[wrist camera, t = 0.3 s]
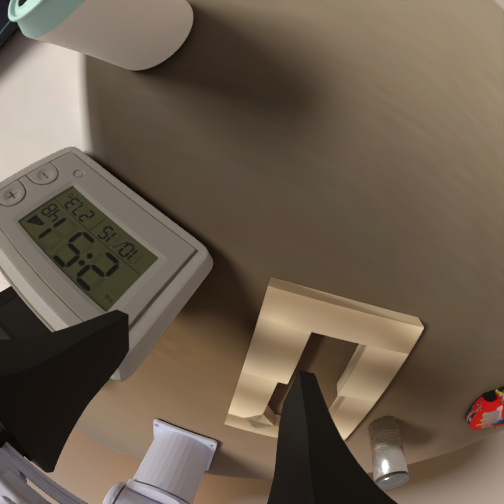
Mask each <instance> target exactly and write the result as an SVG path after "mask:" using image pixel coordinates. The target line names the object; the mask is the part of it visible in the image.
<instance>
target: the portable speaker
mask: <svg viewBox="0 0 504 504" xmlns="http://www.w3.org/2000/svg"><path fill="white" fill-rule="evenodd" d="M10 1H11V0H0V46H1V45H2V44H3V43H4V42H5V41H6V40H7V39H8V38H9V37H10V35H11V34H12V33H13V32H14V31H15V30H16V29H17V28H18V27H19V25H18V23H17V22H13V21H10V20H9V17H8V8H9V4H10Z"/></svg>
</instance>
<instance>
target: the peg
mask: <svg viewBox="0 0 504 504" xmlns="http://www.w3.org/2000/svg"><path fill="white" fill-rule="evenodd" d="M368 430H369V438H370V446H371V455H372V464H373V474H374V483H375V484H376V485H377V486H378V487H379V488H380V489H381V490H382V491H383V490H390V489H393V488H396V487H399V486H401V485H403V484H404V483H406V482H407V481H408V480H409V476H408V470H407V465H406V459H405V454H404V449H403V444H402V440H401V435H400V430H399V426H398V422H397V419H396V418H395V417H392V416H385V417H381V418H378V419H376V420H375V421H373V422H372V423H371V424H370V425H369V427H368Z"/></svg>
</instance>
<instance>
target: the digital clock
mask: <svg viewBox="0 0 504 504" xmlns="http://www.w3.org/2000/svg"><path fill="white" fill-rule="evenodd" d="M212 267H213V259H212V257H211V255H210V254H209V252H208V250H207V248H206V247H205V246H204V245H203V244H202V243H200V242H199V241H198V240H197V239H195V238H194V237H193V236H191V235H190V234H189V233H188V232H186V231H185V230H184V229H182V228H181V227H180V226H178V225H177V224H176V223H174V222H173V221H172V220H170V219H169V218H168V217H166V216H165V215H164V214H162V213H161V212H160V211H158V210H157V209H156V208H155V207H153V206H152V205H151V204H149V203H148V202H147V201H145V200H144V199H143V198H141V197H140V196H139V195H137V194H136V193H135V192H134V191H132V190H131V189H130V188H128V187H127V186H126V185H125V184H123V183H122V182H121V181H119V180H118V179H117V178H115V177H114V176H113V175H112V174H110V173H109V172H108V171H107V170H105V169H104V168H103V167H101V166H100V165H99V164H98V163H96V162H95V161H94V160H92V159H91V158H90V157H89V156H87V155H86V154H85V153H83V152H82V151H81V150H79V149H78V148H76V147H67V148H64V149H62V150H59V151H57V152H55V153H53V154H51V155H49V156H47V157H45V158H43V159H41V160H39V161H37V162H35V163H33V164H31V165H30V166H28V167H26V168H24V169H22V170H20V171H19V172H17V173H15V174H13V175H12V176H10V177H8V178H7V179H5V180H3V181H2V182H0V271H1V273H2V274H3V276H4V277H5V278H6V280H7V281H8V282H9V283H10V285H11V286H12V287H13V289H14V290H15V291H16V292H17V294H18V295H19V296H20V297H21V298H22V300H23V301H24V302H25V303H26V304H27V305H28V307H29V308H30V309H31V310H32V311H33V312H34V313H35V315H36V316H37V317H38V318H39V319H40V320H41V321H42V322H43V323H44V324H45V325H46V326H47V328H48V329H49V330H50V331H51V332H54V331H58V330H61V329H64V328H67V327H70V326H73V325H76V324H79V323H82V322H84V321H87V320H90V319H92V318H95V317H97V316H100V315H103V314H105V313H108V312H111V311H114V310H119V311H122V312H124V313H126V314H129V352H128V353H127V355H126V357H125V358H124V360H123V361H122V363H121V365H120V366H119V368H118V369H117V370H116V371H115V373H114V374H113V375H112V376H111V377H110V379H112V380H114V381H124V380H126V379H127V378H129V377H130V376H131V375H132V374H133V373H134V372H135V370H136V369H137V368H138V367H139V365H140V364H141V363H142V362H143V360H144V359H145V358H146V356H147V355H148V354H149V352H150V351H151V350H152V348H153V347H154V345H155V344H156V343H157V341H158V340H159V339H160V337H161V336H162V335H163V333H164V332H165V331H166V329H167V328H168V327H169V325H170V324H171V323H172V321H173V320H174V319H175V317H176V316H177V315H178V313H179V312H180V311H181V309H182V308H183V307H184V305H185V304H186V303H187V301H188V300H189V299H190V297H191V296H192V295H193V294H194V292H195V291H196V290H197V288H198V287H199V286H200V284H201V283H202V282H203V280H204V279H205V278H206V277H207V275H208V274H209V272H210V271H211V269H212Z"/></svg>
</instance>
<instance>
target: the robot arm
mask: <svg viewBox="0 0 504 504" xmlns="http://www.w3.org/2000/svg"><path fill="white" fill-rule="evenodd" d="M128 352H129V314H126V313H124V312H122V311H119V310H114V311H111V312H108V313H105V314H103V315H100V316H97V317H95V318H92V319H90V320H87V321H84V322H82V323H79V324H76V325H73V326H70V327H67V328H64V329H61V330H58V331H54V332H51V333H47V334H43V335H38V336H33V337H26V338H17V339H4V340H0V504H51V503H49V502H48V501H47V500H46V499H44V498H43V497H42V496H41V495H40V494H39V493H37V492H36V491H35V490H33V489H32V488H31V487H30V486H29V485H28V484H27V480H26V478H28V479H29V480H30V481H31V482H32V483H33V484H35V485H36V486H37V487H38V488H40V489H41V490H42V491H43V492H45V493H46V494H47V495H49V496H50V497H51V498H53V499H54V500H56V501H57V502H58V503H60V504H88V503H86V502H84V501H83V500H81V499H79V498H78V497H76V496H75V495H73V494H72V493H70V492H68V491H67V490H66V489H64V488H63V487H61V486H60V485H58V484H57V483H56V482H54V481H53V480H51V479H50V478H49V477H47V476H46V475H45V474H43V473H42V472H41V471H40V470H38V469H37V468H36V467H35V466H33V465H32V464H31V463H30V462H29V461H32V462H33V463H35V464H36V465H37V466H38V467H40V468H41V469H42V470H43V471H45V472H47V473H48V472H53V471H54V469H55V465H56V463H57V460H58V458H59V456H60V454H61V451H62V449H63V447H64V445H65V443H66V441H67V439H68V437H69V435H70V433H71V431H72V429H73V428H74V426H75V424H76V422H77V421H78V419H79V417H80V416H81V414H82V413H83V411H84V409H85V408H86V406H87V405H88V404H89V402H90V401H91V400H92V399H93V397H94V396H95V395H96V394H97V393H98V391H99V390H100V389H101V388H102V387H103V386H104V384H105V383H106V382H107V381H108V380H109V378H110V377H111V376H112V375H113V374H114V373H115V371H116V370H117V369H118V368H119V366H120V365H121V363H122V361H123V360H124V358H125V357H126V355H127V353H128ZM153 426H154V440H153V442H152V444H151V446H150V448H149V450H148V452H147V453H146V455H145V457H144V459H143V461H142V463H141V464H140V466H139V468H138V470H137V472H136V474H135V476H134V477H133V479H132V480H131V479H129V481H128V482H127V484H126V483H125V482H120V483H116V484H114V485H113V486H112V488H111V489H110V491H109V492H108V493H107V495H106V497H105V499H104V501H103V503H102V504H192V503H193V501H194V498H195V495H196V493H197V490H198V487H199V484H200V482H201V479H202V476H203V474H204V471H208V469H209V467H210V464H211V461H212V458H213V455H214V452H215V450H216V447H217V444H218V442H217V441H215V440H212V439H209V438H206V437H203V436H200V435H197V434H195V433H192V432H189V431H186V430H183V429H181V428H178V427H176V426H173V425H171V424H168V423H166V422H163V421H161V420H158V419H155V420H154V421H153ZM24 456H25V457H26V458H27V459H28V460H29V461H27V460H26V459H25V458H24ZM267 504H397V503H396V502H395V501H394V500H392V499H391V498H390V497H389V496H388V495H386V494H385V493H384V492H383V491H382V490H381V489H380V488H379V487H378V486H377V485H376V484H375V483H374V482H373V480H372V479H371V478H370V477H369V476H368V475H367V473H366V472H365V471H364V470H363V468H362V467H361V466H360V465H359V464H358V462H357V461H356V459H355V458H354V456H353V455H352V454H351V452H350V450H349V449H348V447H347V446H346V444H345V442H344V441H343V439H342V437H341V435H340V433H339V431H338V429H337V427H336V425H335V423H334V421H333V419H332V417H331V415H330V412H329V410H328V408H327V405H326V403H325V401H324V398H323V395H322V393H321V390H320V387H319V385H318V382H317V379H316V376H315V374H314V373H309V372H305V371H300V370H299V372H298V374H297V376H296V378H295V380H294V382H293V384H292V386H291V389H290V391H289V393H288V395H287V397H286V399H285V401H284V403H283V407H282V412H281V417H280V422H279V431H278V442H277V453H276V464H275V472H274V478H273V483H272V487H271V492H270V495H269V499H268V503H267Z"/></svg>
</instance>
